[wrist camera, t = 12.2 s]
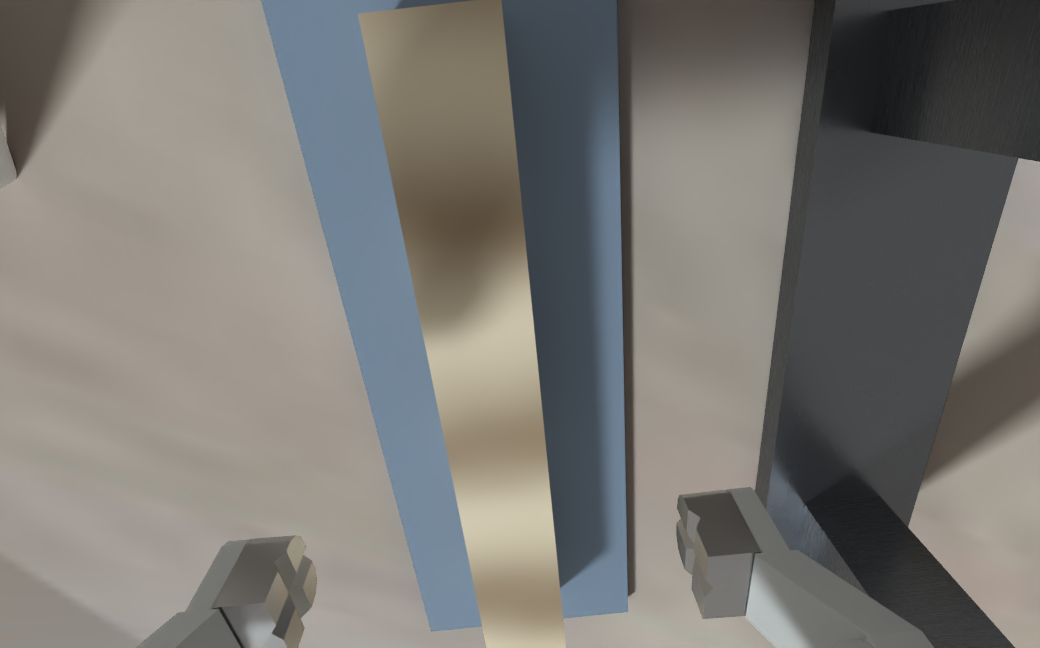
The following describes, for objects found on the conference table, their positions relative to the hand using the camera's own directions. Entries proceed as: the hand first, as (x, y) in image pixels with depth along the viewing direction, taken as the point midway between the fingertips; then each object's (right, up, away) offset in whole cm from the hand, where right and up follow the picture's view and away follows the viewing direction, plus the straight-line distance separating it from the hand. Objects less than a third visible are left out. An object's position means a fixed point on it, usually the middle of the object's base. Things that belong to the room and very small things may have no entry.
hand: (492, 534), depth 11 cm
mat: (0, +3, +8) cm, 8 cm away
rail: (0, +3, +7) cm, 7 cm away
